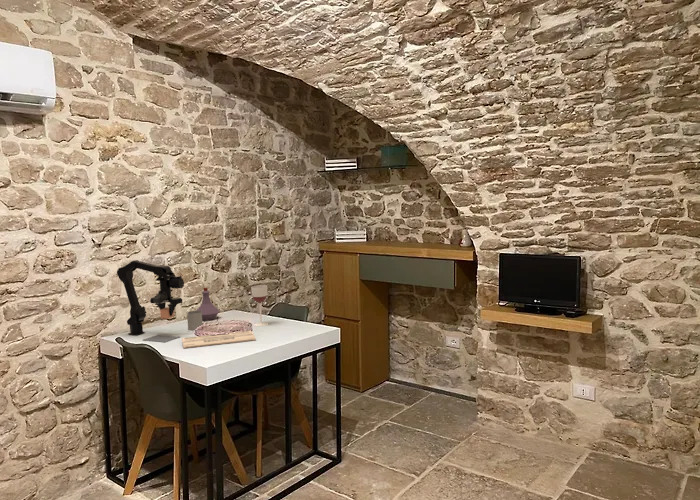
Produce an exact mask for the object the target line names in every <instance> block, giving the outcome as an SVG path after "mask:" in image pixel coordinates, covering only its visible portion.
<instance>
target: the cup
mask: <svg viewBox="0 0 700 500" xmlns="http://www.w3.org/2000/svg"><path fill="white" fill-rule="evenodd" d="M186 314H187V317H186V318H187V330H188V331H194V330H195V329H196V328H197V327H199V326H201V325H203V320H202V311H197V310H191V311H187V313H186ZM203 326H204V325H203ZM195 331H196V330H195Z"/></svg>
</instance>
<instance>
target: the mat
mask: <svg viewBox="0 0 700 500" xmlns="http://www.w3.org/2000/svg"><path fill="white" fill-rule="evenodd" d="M176 339H180V336H175V335H168V334H166V335H165V334H156V335H152V336H150V337H147V338H143V339H142V341H145V342H156V343H168V342H171V341H173V340H176Z"/></svg>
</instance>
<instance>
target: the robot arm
mask: <svg viewBox="0 0 700 500" xmlns="http://www.w3.org/2000/svg"><path fill="white" fill-rule="evenodd" d="M137 269H138V270H143V271H146V272H150V273H153V274H154V275H156V276H157V278H156V279H155V281H158V282H159V290H158V293H157V294H155V295H154V296H153V297H150V300H149V303H150V304H154V305H155V306H157V307H158V309H159V310H160V309H163V308H166V304H167V303H168V304H167V308H169V313H170V316H172V314H173V311H174V312H175V309H176V307H177V305H178V304H179V305H180V304H183V298H182V297H174V298H173V296H172V292H173V289H183V288H184V287H185V281H184V279H183V278H182V276H181V275H179V276H176V274H175V273H174V272H173V271H172V268H171V266H170V265H157V264H152V263H148V262H144V261H140V260H138V259H135V260H132V261H131V262H129V263H128V264H125V265H124V266H121V267H119V268H117V270H116V275H117V277H118V279H119V281H121V283H122V284H123V286H124V290H125V292H126V296H127V298H128V299H127V300H128V302H129V305H130V311H129V316H130V317H129V318H128V319H127V320H126V324H127V325H128V326H129V333H128V335H131V336H138V335H142V334H145V333H146V331H144V328H143V323H144V320H145V318H146V317H147V311H146V308H145V307H146V306H142V305H141V304H140V301H139V298H138V295H137V292H136V289H135V286H134V282H133V279H134V272H135V271H136V270H137Z"/></svg>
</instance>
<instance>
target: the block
mask: <svg viewBox="0 0 700 500" xmlns="http://www.w3.org/2000/svg"><path fill="white" fill-rule="evenodd" d="M159 312H160V319H171V318H174V317H175V314H174V312H175V310H174V311H173V314H172V316H170V313H169V307H165V308H163V309H159Z"/></svg>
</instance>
